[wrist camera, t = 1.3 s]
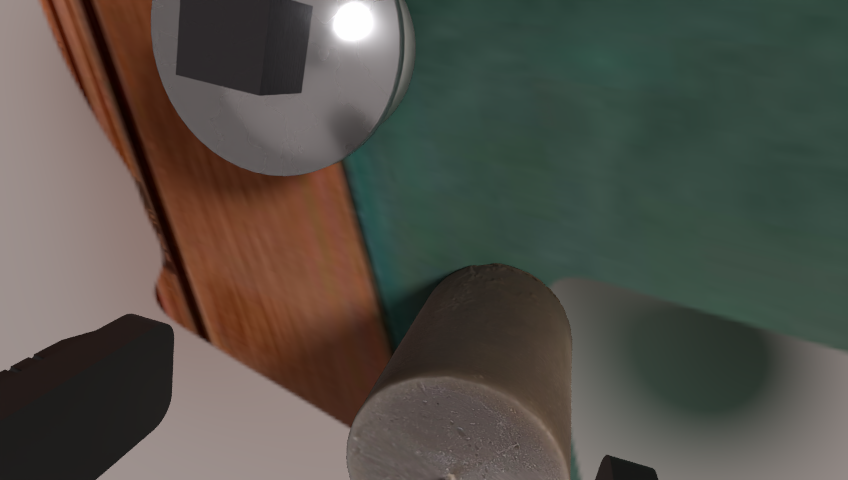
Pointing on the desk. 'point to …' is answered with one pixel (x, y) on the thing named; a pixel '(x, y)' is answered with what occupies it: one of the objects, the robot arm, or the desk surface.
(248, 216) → the desk surface
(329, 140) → the lid
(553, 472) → the pillar candle
